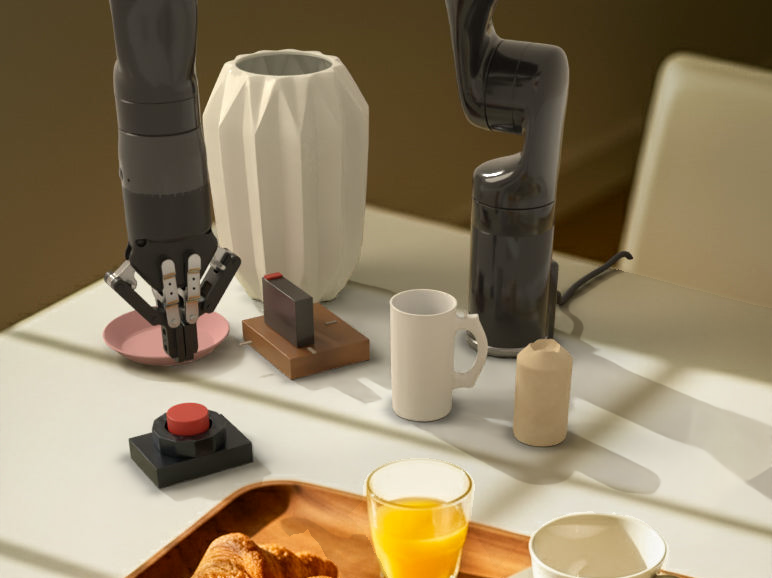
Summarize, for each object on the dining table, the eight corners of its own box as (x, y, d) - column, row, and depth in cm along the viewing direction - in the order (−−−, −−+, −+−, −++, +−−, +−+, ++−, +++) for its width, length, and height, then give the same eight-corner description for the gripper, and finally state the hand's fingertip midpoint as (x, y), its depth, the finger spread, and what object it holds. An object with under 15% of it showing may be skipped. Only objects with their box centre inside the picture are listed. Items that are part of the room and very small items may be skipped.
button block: (222, 432, 137) (220, 397, 135) (253, 462, 132) (251, 426, 130) (130, 457, 133) (126, 422, 131) (158, 489, 128) (154, 452, 126)
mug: (385, 421, 140) (385, 313, 133) (393, 391, 145) (393, 287, 139) (482, 427, 139) (487, 319, 132) (486, 397, 144) (491, 292, 138)
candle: (563, 449, 135) (570, 358, 129) (509, 444, 136) (514, 353, 130) (569, 424, 139) (576, 335, 134) (516, 418, 140) (521, 330, 135)
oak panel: (318, 321, 160) (317, 300, 159) (370, 359, 152) (370, 338, 150) (218, 345, 155) (216, 324, 153) (266, 387, 146) (264, 364, 145)
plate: (83, 365, 150) (81, 348, 149) (135, 314, 162) (133, 299, 160) (204, 379, 147) (202, 363, 146) (248, 327, 159) (247, 311, 158)
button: (199, 414, 133) (197, 398, 132) (216, 431, 130) (215, 415, 129) (161, 424, 131) (159, 408, 130) (178, 441, 128) (176, 425, 127)
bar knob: (314, 343, 149) (313, 295, 146) (297, 348, 148) (295, 299, 145) (281, 318, 155) (278, 271, 152) (264, 322, 154) (261, 274, 151)
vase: (404, 291, 168) (405, 64, 153) (282, 336, 157) (270, 96, 142) (305, 249, 180) (296, 34, 164) (184, 287, 169) (163, 61, 153)
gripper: (108, 202, 111) (130, 390, 121) (252, 176, 117) (263, 357, 127) (76, 177, 117) (100, 359, 126) (216, 153, 123) (229, 329, 132)
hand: (182, 358), depth 127 cm, fingers closed
